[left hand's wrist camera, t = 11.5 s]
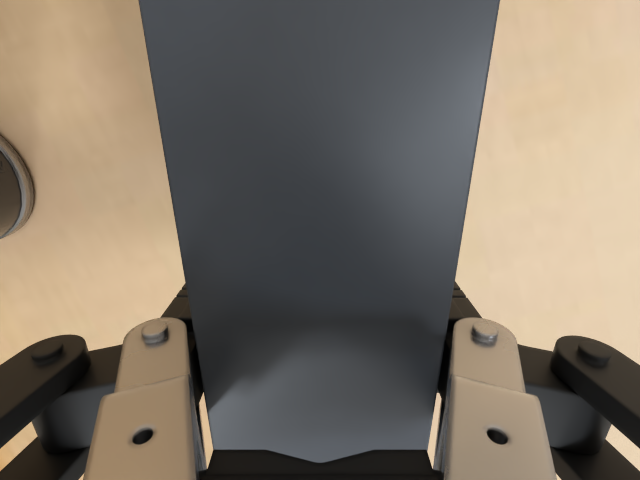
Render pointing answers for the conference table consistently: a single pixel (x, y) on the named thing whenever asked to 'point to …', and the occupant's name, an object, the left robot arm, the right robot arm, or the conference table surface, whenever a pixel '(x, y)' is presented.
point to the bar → (319, 207)
